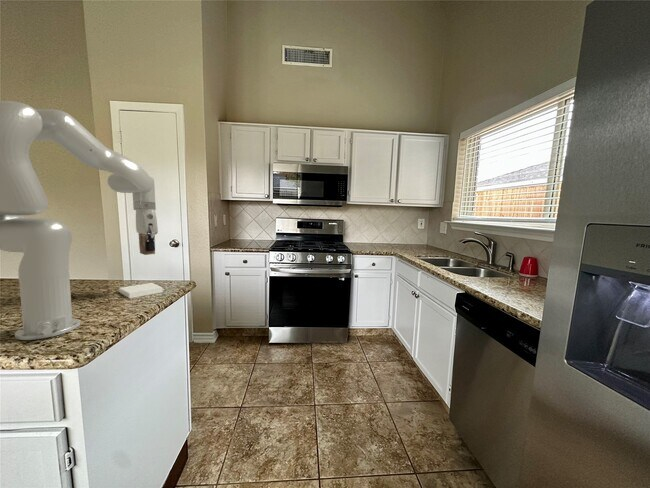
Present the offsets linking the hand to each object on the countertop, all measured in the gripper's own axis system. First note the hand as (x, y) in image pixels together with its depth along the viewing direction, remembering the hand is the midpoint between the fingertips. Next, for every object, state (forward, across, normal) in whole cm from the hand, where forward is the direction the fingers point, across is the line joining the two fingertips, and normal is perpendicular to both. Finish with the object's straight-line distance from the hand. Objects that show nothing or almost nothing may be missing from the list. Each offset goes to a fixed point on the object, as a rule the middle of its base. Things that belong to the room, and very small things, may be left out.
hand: (147, 249), depth 109 cm
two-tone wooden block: (+2, 0, 0) cm, 2 cm away
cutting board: (+19, +3, +2) cm, 19 cm away
